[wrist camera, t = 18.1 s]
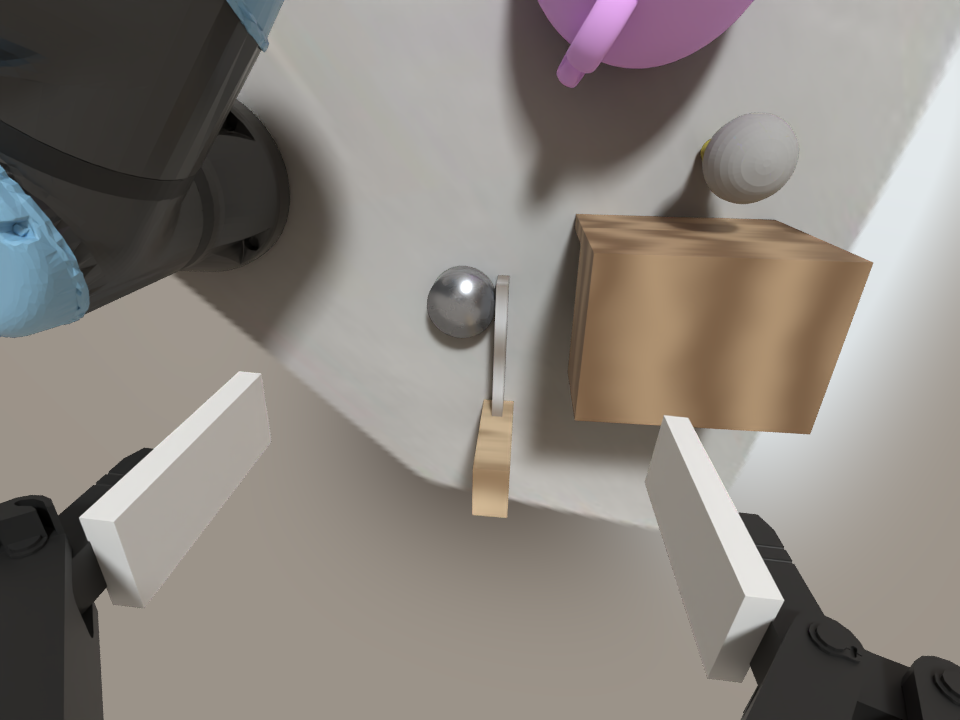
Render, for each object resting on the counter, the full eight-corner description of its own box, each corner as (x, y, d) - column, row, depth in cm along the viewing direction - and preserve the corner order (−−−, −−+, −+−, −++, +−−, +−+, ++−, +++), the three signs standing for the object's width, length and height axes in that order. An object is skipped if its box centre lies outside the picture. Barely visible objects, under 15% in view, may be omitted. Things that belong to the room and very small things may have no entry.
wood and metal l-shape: (511, 442, 53) (506, 517, 43) (482, 440, 53) (472, 514, 43) (520, 276, 45) (517, 322, 35) (487, 274, 45) (474, 320, 35)
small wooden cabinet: (563, 347, 47) (574, 424, 36) (576, 214, 42) (593, 253, 30) (738, 355, 46) (808, 437, 34) (775, 219, 41) (873, 262, 29)
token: (430, 323, 48) (425, 334, 45) (433, 262, 45) (428, 270, 43) (493, 330, 47) (491, 341, 45) (499, 268, 45) (497, 277, 42)
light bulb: (725, 198, 40) (781, 222, 31) (663, 174, 40) (701, 192, 31) (764, 128, 38) (836, 132, 29) (698, 101, 37) (751, 98, 29)
